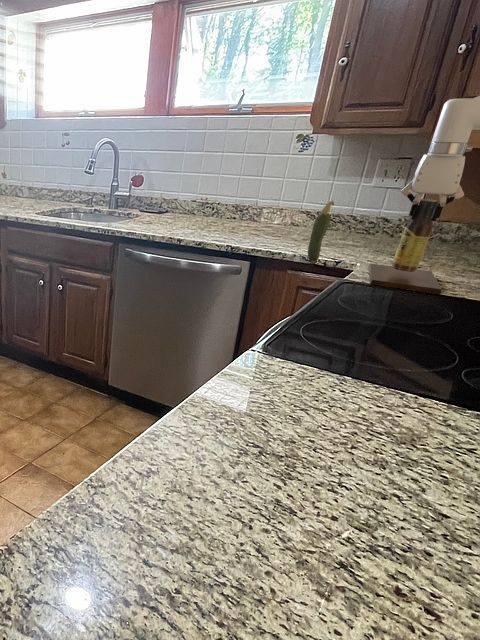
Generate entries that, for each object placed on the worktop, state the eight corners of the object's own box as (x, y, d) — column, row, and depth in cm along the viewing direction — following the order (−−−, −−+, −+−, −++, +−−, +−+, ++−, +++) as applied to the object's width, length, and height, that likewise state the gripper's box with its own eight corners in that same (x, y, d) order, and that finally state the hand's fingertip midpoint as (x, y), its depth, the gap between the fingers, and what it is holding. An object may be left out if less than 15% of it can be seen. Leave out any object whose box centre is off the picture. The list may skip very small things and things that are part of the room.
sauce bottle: (389, 265, 158) (414, 197, 149) (414, 269, 155) (441, 199, 147) (391, 270, 153) (416, 199, 144) (417, 273, 150) (444, 202, 142)
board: (429, 275, 161) (431, 271, 160) (440, 294, 142) (442, 289, 141) (368, 267, 168) (369, 263, 167) (370, 284, 149) (371, 279, 149)
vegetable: (301, 262, 172) (318, 199, 164) (306, 260, 175) (322, 198, 167) (316, 265, 170) (333, 201, 161) (320, 263, 172) (338, 200, 164)
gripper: (483, 150, 139) (457, 221, 147) (407, 148, 147) (386, 215, 155) (489, 151, 133) (462, 224, 141) (409, 149, 141) (387, 218, 149)
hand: (422, 218), depth 148 cm, fingers closed on sauce bottle, 4 cm apart
